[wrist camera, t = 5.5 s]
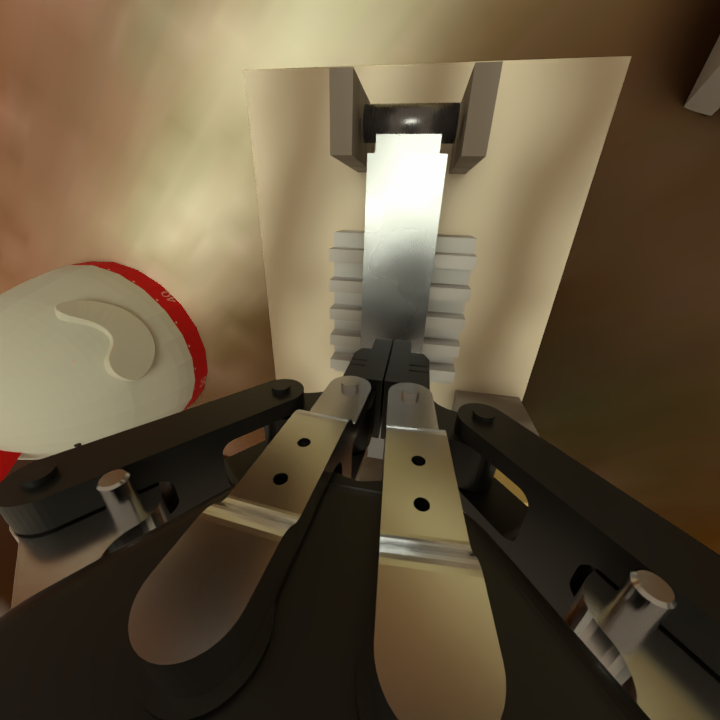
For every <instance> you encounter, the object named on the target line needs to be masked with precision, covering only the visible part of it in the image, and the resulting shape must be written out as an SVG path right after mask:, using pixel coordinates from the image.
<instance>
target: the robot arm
mask: <svg viewBox="0 0 720 720" xmlns="http://www.w3.org/2000/svg"><path fill="white" fill-rule="evenodd" d="M411 346H412V341H403V340H394V344H393V339H382V338H376V339H375V341H374V344H373V346H372V349H370V348H361V349H359V350H358V351H356V352H355V353H354V355H353V357H352V359H351V361H350V363H349V365H348V367H347V369H346V371H345V373H344V375H343V376H342V377H338V378H336V379H334V380H332V381H331V382H330V383H329V385H328V386H327V387H326V389H325V390H324V391H323V392H314V393H304V387H303V385H302V384H301V383H300V382H298V381H296V380H292V379H278V380H273V381H270V382H267V383H264V384H261V385H258V386H255V387H252V388H249V389H247V390H244V391H241V392H238V393H235V394H232V395H229V396H226V397H223V398H220V399H217V400H214V401H211V402H208V403H205V404H202V405H199V406H196V407H193V408H190V409H187V410H184V411H182V412H179V413H176V414H173V415H170V416H167V417H164V418H161V419H158V420H155V421H152V422H149V423H146V424H143V425H140V426H137V427H134V428H131V429H128V430H125V431H122V432H119V433H116V434H114V435H111V436H108V437H105V438H102V439H99V440H96V441H93V442H90V443H87V444H84V445H81V446H78V447H75V448H72V449H69V450H66V451H63V452H60V453H57V454H54V455H51V456H49V457H46V458H43V459H40V460H37V461H34V462H32V463H30V464H28V465H26V466H24V467H22V468H20V469H18V470H16V471H15V472H13V473H12V474H10V475H9V476H7V477H6V478H5V479H4V480H2V481H1V482H0V514H1V515H2V516H3V518H4V519H5V521H6V522H7V523H8V524H9V526H10V532H11V533H12V535H13V536H14V538H15V539H16V540H17V542H18V543H19V547H18V555H17V564H16V573H15V581H14V588H13V597H12V605H11V610H10V611H8V612H7V613H5V614H4V615H3V616H1V617H0V720H720V555H719V554H717V553H716V552H714V551H713V550H711V549H709V548H708V547H706V546H705V545H703V544H702V543H700V542H699V541H697V540H696V539H694V538H693V537H691V536H690V535H688V534H687V533H685V532H684V531H682V530H681V529H679V528H678V527H676V526H675V525H673V524H671V523H670V522H668V521H667V520H665V519H664V518H662V517H661V516H659V515H658V514H656V513H655V512H653V511H652V510H650V509H649V508H647V507H646V506H644V505H643V504H641V503H640V502H638V501H636V500H635V499H633V498H632V497H630V496H629V495H627V494H626V493H624V492H623V491H621V490H620V489H618V488H617V487H615V486H614V485H612V484H611V483H609V482H608V481H606V480H605V479H603V478H601V477H600V476H598V475H597V474H595V473H594V472H592V471H591V470H589V469H588V468H586V467H585V466H583V465H582V464H580V463H579V462H577V461H576V460H574V459H573V458H571V457H570V456H568V455H566V454H565V453H563V452H562V451H560V450H559V449H557V448H556V447H554V446H553V445H551V444H550V443H548V442H547V441H545V440H544V439H542V438H541V437H539V436H538V435H536V434H535V433H533V432H531V431H530V430H528V429H527V428H525V427H524V426H522V425H521V424H519V423H518V422H516V421H515V420H513V419H512V418H510V417H509V416H507V415H506V414H504V413H503V412H501V411H499V410H498V409H496V408H494V407H491V406H489V405H485V404H480V403H468V404H465V405H462V406H461V407H460V408H459V409H458V412H455V411H452V410H449V409H447V408H444V407H442V406H440V405H439V404H437V403H436V402H435V401H434V400H433V395H432V393H431V391H430V374H429V359H428V358H427V357H426V356H425V355H424V354H418V353H411ZM262 427H264V432H265V439H266V440H265V441H263V442H261V443H259V444H257V445H254V446H252V447H250V448H248V449H246V450H244V451H241V452H239V453H237V454H235V455H233V456H230V457H228V458H226V459H223V449H224V448H225V446H226V445H227V444H228V443H229V442H230V441H232V440H234V439H236V438H238V437H241V436H243V435H245V434H248V433H250V432H252V431H255V430H257V429H259V428H262ZM380 429H381V438H380V439H384V451H383V464H382V479H381V481H359V478H360V475H361V472H362V469H363V467H364V464H365V461H366V458H367V455H368V446H369V444H370V441H371V437H373V438H379V434H380ZM496 468H497V469H498V470H499V471H500V472H501V473H503V474H504V475H505V476H506V477H507V478H508V479H510V480H511V481H512V482H513V483H514V484H515V485H517V486H518V487H519V488H520V489H521V490H522V491H523V493H524V494H525V496H526V498H527V501H528V506H527V505H525V504H524V503H523V502H522V501H521V500H520V499H519V498H518V497H516V496H515V495H514V494H513V493H512V492H511V491H510V490H508V489H507V488H506V487H505V486H504V485H503V484H502V483H501V482H499V481H498V480H497V479H496V478H495V477H494V475H495V471H496ZM463 511H464V512H465V513H464V512H463Z"/></svg>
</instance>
